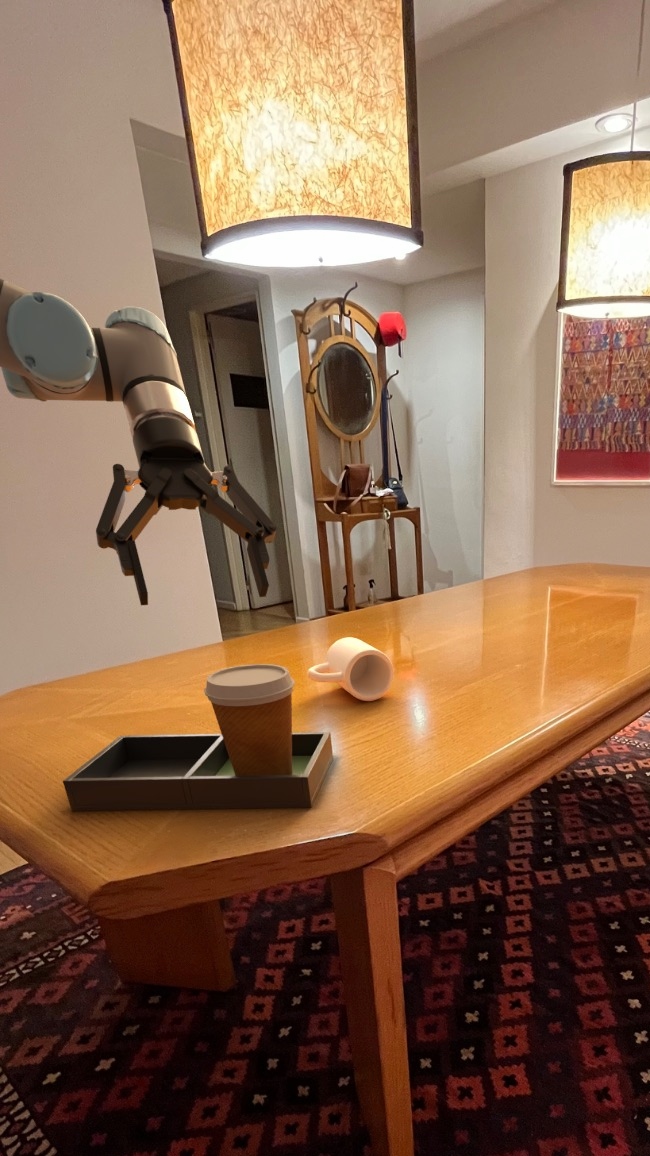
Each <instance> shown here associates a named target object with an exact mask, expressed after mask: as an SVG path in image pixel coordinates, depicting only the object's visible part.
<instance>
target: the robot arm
mask: <svg viewBox="0 0 650 1156" xmlns="http://www.w3.org/2000/svg"><path fill="white" fill-rule="evenodd" d="M0 368H1V369H0V370H1V372H2V377H3V380H4V382H5V385H6V388H7V391H8V392H9V393H10V394H11V395H12V396H13V397H15V398H17V399H23V400H24V399H27V400H36V401H40V402H42V403H43V402H47V401H73V402H74V401H75V402H76V401H77V402H79V401H80V402H85V401H87V402H90V401H91V402H92V401H93V402H94V401H96V402H97V401H98V402H103V401H104V402H110V403H111V402H112V403H113V402H122V404H123V408H124V412H125V414H126V419H127V423H128V424H127V425H128V427H129V431H130V435H131V437H132V443H133V447H134V451H135V456H136V458H137V465H138V467H139V468H138V470H131V469H130V470H129V469H125V467H124V466H123V465H122V464H121V463H114V464H113V465H112V477H113V482H112V485H111V488H110V490H109V493H108V496H107V499H106V502H105V504H104V507H103V509H102V512H101V515H100V517H99V521H98V523H97V526H96V528H95V535H96V536H95V537H96V542H97V543H96V544H97V546H98V547H99V548H101V549H103V550H105V549H108V548H109V549H113V550H114V551H116V554H117V556H118V557H117V558H118V560H119V565H120V569H121V573H122V574H123V575H124V577H132V576H133V579H134V583H135V587H136V591H137V595H138V598H139V604H140V606H148V605H149V592H148V588H147V584H146V581H145V576H144V571H143V567H142V565H141V560H140V556H139V552H138V548H137V545H136V540H137V539H138V537H139V536H140V534H141V533H142V532H143V530H144V529H145V528H146V527H147V525H148V524H149V523H150V521H151V519H153V517H154V516H157V514H158V513H159V511H160V510H162V508H163V507H164V508H168V511H176V510H180V509H185V510H192V511H193V510H196V509H197V508H200V509H201V510H202V511H203V512H205V513H206V514H208V515H212V516H213V517H215V518H216V519H217V520H218V521H220V522H221V523H222V524H223V525H225V526H226V527H227V528H229V529H230V530H231V531H232V532H234V533H235V534H237V536H238V537H240V538H241V539H243V540H244V541H245V542H246V543H247V546H246V552H247V553H246V554H247V557H248V560H249V564H250V567H251V571H252V574H253V575H252V576H253V578H254V581H255V585H256V589H257V593H258V597H259V598H265V597H267V594H268V590H269V587H270V584H269V581H268V576H267V573H266V570H267V569H268V568H269V563H270V555H269V552H268V548H267V543H268V544H272V543H273V542H274V540H275V537H276V533H277V525H276V524H275V523H274V522H273V520H272V519H271V518H270V517H269V515H268V514H267V513H266V512H265V510H263V509H262V508H261V506H260V505H259V504H258V503H257V502H256V500H255V499H254V498H253V497H252V495H250V493H249V492H248V491H247V489H245V487H244V485H242V483H240V481H239V480H238V476H237V474H236V472H235V469H234V468H233V467H232V466H231V465H225V466H224V467H223V469H222V470H221V471H219V470H218V471H211V470H210V469H209V468H208V466H207V465H206V463H205V459H204V454H203V452H202V451H203V450H202V448H201V442H200V439H199V436H198V434H197V428H196V426H195V422H194V418H193V415H192V410H191V407H190V403H189V401H188V397H187V394H186V390H185V386H184V382H183V378H182V373H181V370H180V369H181V368H180V365H179V361H178V355H177V352H176V349H175V347H174V344H173V342H172V339H171V336H170V334H169V331H168V329H167V327H166V325H165V323H164V322H163V321H162V319H160V318H159V317H158V316H157V315H156V314H155V313H153V312H151V310H148V309H145V308H143V307H139V306H130V305H129V306H124V307H123V308H121V309H119V310H118V309H114V310H113V311H112V312H110V314H109V315H108V316H107V318H106V320H105V323H104V327H91V326H90V325H89V323H88V322H87V320H86V319H85V317H84V316H83V315H82V314H81V313H80V311H79V310H78V309H77V308H76V307H75V306H73V305H72V304H71V303H70V302H68V301H67V300H65V299H63V298H62V297H60V296H58V295H56V294H53V293H51V292H50V293H49V292H45V291H43V292H41V291H35V292H32V291H30V290H28V289H25V288H24V287H21V286H19V285H16V284H14V283H12V282H10V281H6V280H4V279H2V278H0ZM137 484H138V485H139V486H140V487H141V488H142V489H143V490H144V491H145V492H144V495H143V497H142V498H141V499H140V501H139V502H138V503H137V505H136V506H135V507H134V508H133V510H132V511H131V513H130V514H129V515H128V516H127V518H126V519H125V520H124V522H123V523H122V524H121V525H120V527H119V528H118V529H117V531H116V532H115V530H116V528H117V525H118V522H119V519H120V517H121V514H122V511H123V508H124V505H125V502H126V499H127V493H131V491H132V490H133V489H134V486H135V485H137ZM213 485H216V486H217V487H219V489H220V491H221V492H222V493H226V495H227V497H228V498H229V500H230V501H231V502H232V504H233V505H234V506H235V507H236V508H235V507H234V506H233V505H232V504H230V503H229V502H228V501H226V500H225V499H224V498H223V497H222V496H220V494H219V492H218V491H217V490H216V488H214V487H213Z"/></svg>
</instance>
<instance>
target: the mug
mask: <svg viewBox="0 0 650 1156" xmlns="http://www.w3.org/2000/svg"><path fill="white" fill-rule="evenodd" d="M307 676H308V678H309V679H310V680H311V681H313V682H316V683H323V684H324V683H326V684H337V685H338V686H339V687H341V688H342V689H344V690H345V691H346V692H348V693H349V694H350V695H351V696H353V697H354V698H356V699H358V700H360V701H363V702H372V701H376V700H379V699H380V698H382V697H383V696H385V695H386V694H387V693H388V691H389V690H390V689H391V687H392V685H393V682H394V678H395V669H394V665H393V663H392V660H391V659H390V658H389V656H387V654H385V653H384V652H383V651H381V650H379V649H378V648H376V647H374V646H372V645H369V643H366V642H364V641H363V640H361V639H359V638H356V637H350V636H349V637H348V636H347V637H343V638H340V639H338V640H336V641H335V642H334V643H333V644H332V645H330V646H329V648H328V649H327V652H326V655H325V661H324V662H323V663H320V664H316V665H314V666H312V667H310V668H308V670H307Z"/></svg>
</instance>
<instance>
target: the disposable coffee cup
mask: <svg viewBox="0 0 650 1156" xmlns="http://www.w3.org/2000/svg"><path fill="white" fill-rule="evenodd" d="M295 684H296V683H295V680H294V678H292V676H291V673H290V670H289V669H288V668H287V667H286V666H283V665H278V664H271V663H253V664H242V665H236V666H231V667H226V668H222V669H219V670H217V671H213V672H212V673H210V674H208V676H207V677H206V684H205V688H204V689H203V693H204V695H205V696H206V697H207V699H208V701H209V702H210V703H211V706H212V710H213V712H214V713H213V714H214V715H215V718H216V719H215V720H216V721H217V724H218V728H219V730H220V734H222V736H223V740H224V743H225V746H226V749H227V752H228V755H229V758H230V761H231V764H232V767H233V770H234V773H235V776H258V775H292V733H293V708H292V707H293V706H292V705H293V703H292V702H293V698H292V697H293V696H292V695H293V694H292V693H293V691H294V687H295Z"/></svg>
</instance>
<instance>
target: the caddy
mask: <svg viewBox="0 0 650 1156" xmlns="http://www.w3.org/2000/svg"><path fill="white" fill-rule="evenodd" d="M332 743H333V742H332V736H331V732H330V731H312V732H311V731H309V732H308V731H307V732H305V731H303V732H292V775H258V776H235V773H234V770H233V767H232V764H231V761H230V758H229V755H228V752H227V749H226V746H225V743H224V740H223V736H222V734H221V733H197V734H195V733H194V734H192V733H191V734H190V733H189V734H138V735H137V734H136V735H135V734H133V735H119V736H118V737H117V738H116V739H114V740H113V741H112V742H111V743H109V744H107V746H105V747H104V748H103V749H102V750H100V751H99V752H97V754H95V755H94V756H93V757H92V758H90V759H89V760H88V761H86V762H85V763H84V764H82V765H81V766H80V767H79V768H77V769H76V770H75V771H73V772H72V773H71V774H70V775H68V776H67V777H66V778H64V779H63V780H62V784H63V787H64V790H65V794H66V796H67V800H68V804H69V806H70V810H71V812H83V811H84V812H94V811H96V812H98V811H99V812H100V811H102V812H103V811H160V810H161V811H163V810H165V811H168V810H169V811H170V810H175V811H176V810H231V809H232V810H233V809H234V810H235V809H238V810H239V809H240V810H241V809H297V808H298V809H305V808H309V809H310V808H312V807H313V805H314V803H315V801H316V799H317V796H318V794H319V791H320V789H321V787H322V785H323V783H324V780H325V778H326V776H327V774H328V772H329V769H330V767H331V765H332V763H333V760H334V753H333V744H332Z"/></svg>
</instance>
